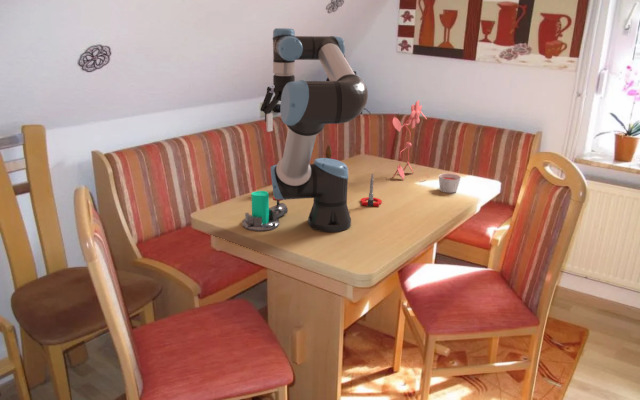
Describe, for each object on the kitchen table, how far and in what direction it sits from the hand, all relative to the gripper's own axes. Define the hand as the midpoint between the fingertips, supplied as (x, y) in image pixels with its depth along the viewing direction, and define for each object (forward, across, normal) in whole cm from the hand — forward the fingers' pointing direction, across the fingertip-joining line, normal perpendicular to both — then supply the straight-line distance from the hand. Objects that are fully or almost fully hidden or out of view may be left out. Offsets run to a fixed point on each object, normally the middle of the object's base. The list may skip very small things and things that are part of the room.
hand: (284, 133), depth 199 cm
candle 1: (+28, -4, +18) cm, 33 cm away
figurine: (+29, -20, -67) cm, 76 cm away
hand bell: (+29, +7, -39) cm, 49 cm away
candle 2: (+29, -41, -60) cm, 78 cm away
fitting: (+29, -4, +15) cm, 33 cm away
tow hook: (+29, -23, -26) cm, 45 cm away
